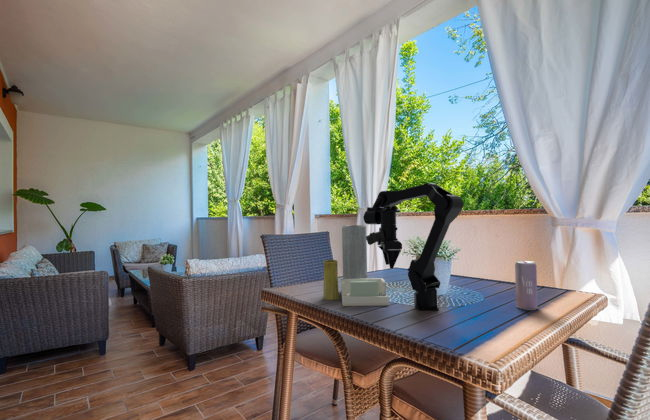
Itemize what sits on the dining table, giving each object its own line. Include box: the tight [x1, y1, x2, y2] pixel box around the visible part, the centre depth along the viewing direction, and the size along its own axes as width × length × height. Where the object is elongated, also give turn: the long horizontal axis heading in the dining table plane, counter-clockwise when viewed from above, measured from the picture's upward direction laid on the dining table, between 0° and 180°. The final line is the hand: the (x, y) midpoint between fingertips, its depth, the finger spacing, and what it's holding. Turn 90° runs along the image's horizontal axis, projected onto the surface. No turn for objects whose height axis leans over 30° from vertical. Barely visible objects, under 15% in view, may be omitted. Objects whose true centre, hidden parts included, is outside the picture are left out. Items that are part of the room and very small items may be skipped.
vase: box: [322, 259, 340, 301], centre depth 123 cm, size 6×6×14 cm
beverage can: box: [514, 260, 538, 311], centre depth 106 cm, size 6×6×15 cm
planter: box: [341, 224, 368, 279], centre depth 134 cm, size 10×10×27 cm
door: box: [350, 281, 378, 296], centre depth 115 cm, size 10×2×7 cm, turn 89°
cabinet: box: [340, 277, 390, 307], centre depth 119 cm, size 16×13×7 cm
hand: (389, 266), depth 121 cm, fingers open, 9 cm apart
